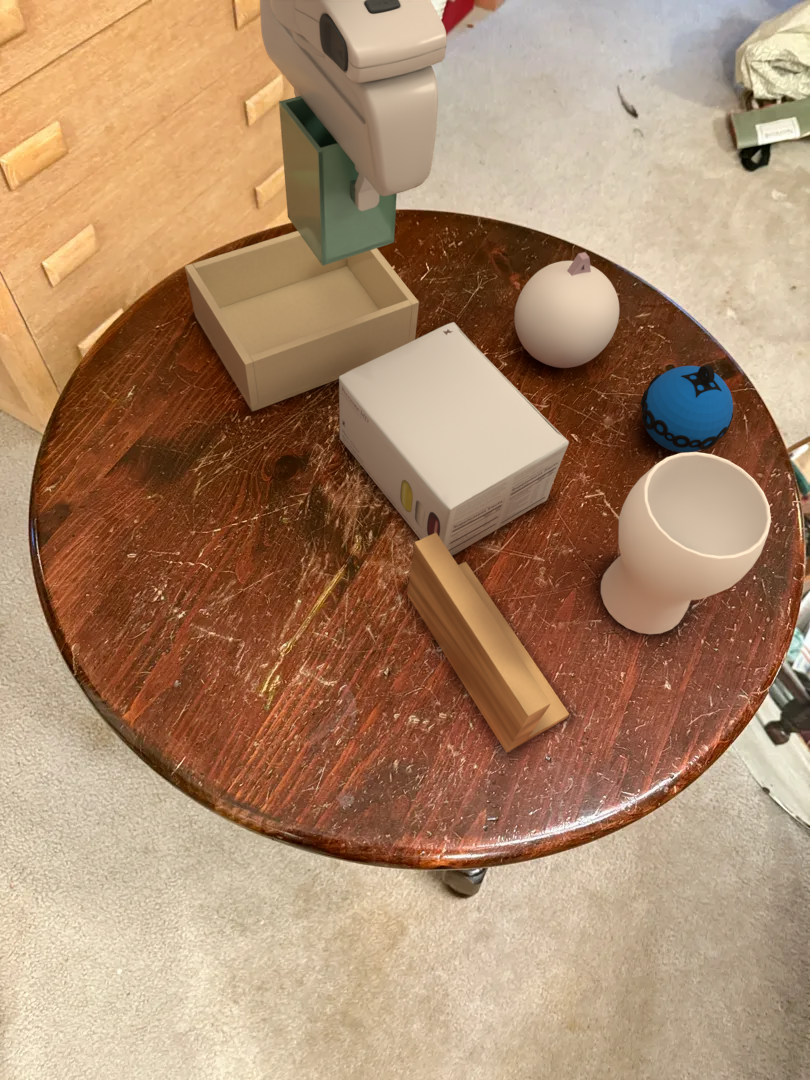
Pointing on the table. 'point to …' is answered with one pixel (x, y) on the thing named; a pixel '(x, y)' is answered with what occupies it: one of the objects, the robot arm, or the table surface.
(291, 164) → the green rectangular container
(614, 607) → the cup
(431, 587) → the stepped wooden molding
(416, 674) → the table surface
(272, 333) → the open box
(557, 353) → the ornament
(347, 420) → the supplement box
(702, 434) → the ornament
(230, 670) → the table surface
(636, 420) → the table surface
